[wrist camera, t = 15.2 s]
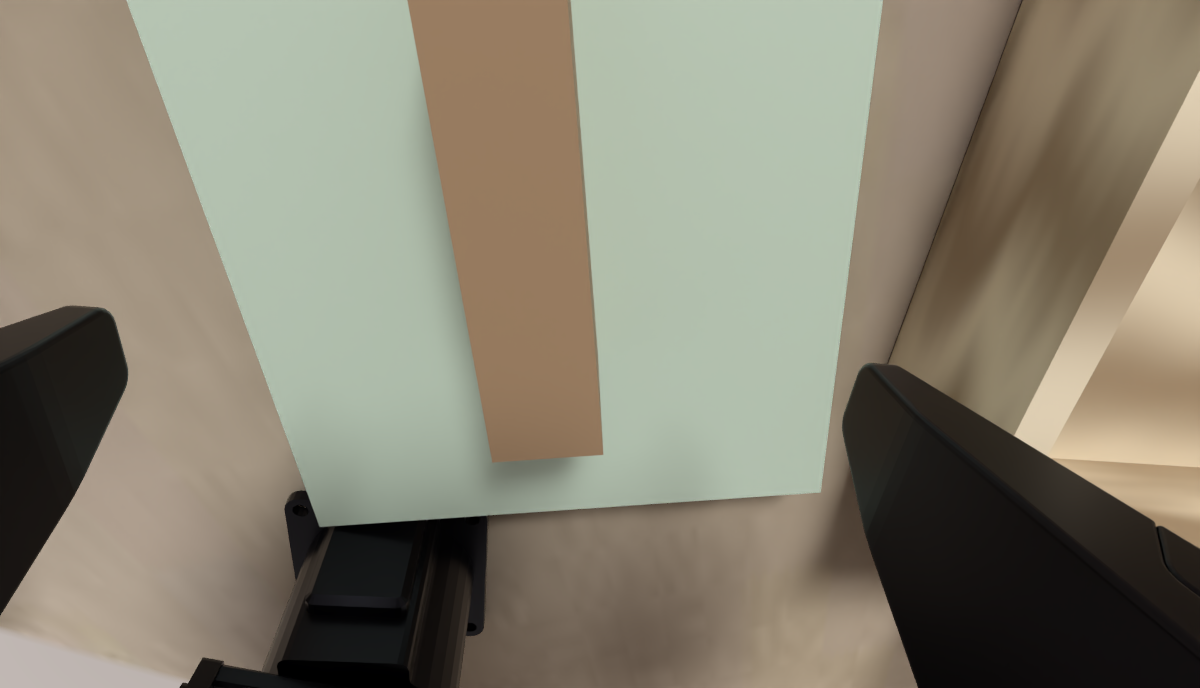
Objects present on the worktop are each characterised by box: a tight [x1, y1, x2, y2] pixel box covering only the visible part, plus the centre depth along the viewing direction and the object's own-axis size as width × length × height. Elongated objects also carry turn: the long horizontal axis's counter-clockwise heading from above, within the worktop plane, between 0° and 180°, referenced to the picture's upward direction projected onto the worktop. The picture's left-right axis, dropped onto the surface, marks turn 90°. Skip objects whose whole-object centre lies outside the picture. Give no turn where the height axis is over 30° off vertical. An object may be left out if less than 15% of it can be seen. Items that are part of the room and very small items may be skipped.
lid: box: [127, 0, 883, 527], centre depth 16 cm, size 21×15×6 cm
